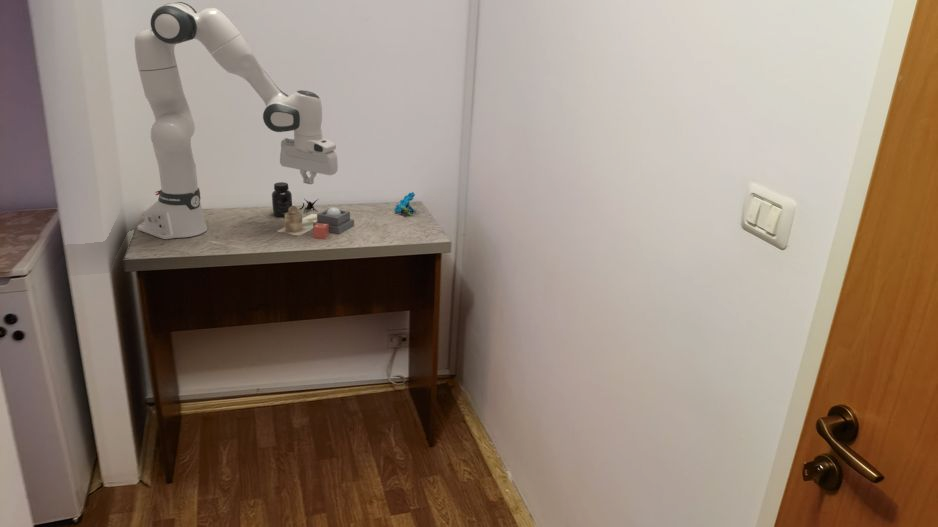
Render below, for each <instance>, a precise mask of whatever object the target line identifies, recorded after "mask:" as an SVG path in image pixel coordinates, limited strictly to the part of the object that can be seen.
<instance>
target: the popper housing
mask: <svg viewBox="0 0 938 527" xmlns="http://www.w3.org/2000/svg"><path fill="white" fill-rule="evenodd" d="M330 208H331V207H328V208H327V209H325V210H323V211H320V212H318V213H317V214H316V215H317V221H316V222H314V223H313V227H314V226H315V225H316V223H322V224H329V234H335V235H340V234H342V233H344V232H346V231H347V230H349V229H351V228H353V227H354V226H355V219H353V218H351V211H350V210H349V211H348V210H344V209H339V210H340V212H341V215H339V216H337V217H334V216H329V215H326V214H327V211H328V210H329V209H330Z"/></svg>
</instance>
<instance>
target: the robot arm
mask: <svg viewBox="0 0 938 527" xmlns="http://www.w3.org/2000/svg"><path fill="white" fill-rule="evenodd" d="M150 27H151V28H148V29H143V30H141V31H140V32H138V33H136V35H135V37H134V52H135V60H136V64H137V69H138V73H139V77H140V81H141V85H142V88H143V92H144V96H145V98H146V99H147V101H148V103H149V105H150V108H151V110H152V113H153V116H154V120H155V122H153V124H152V125H151V130H150V139H151V143H152V147H153V152H154V156H155V158H156V162H157V165H158V171H159V180H160V187H161V189H160V190H158V191H155V192H154V193H155V196H158V199H157V201H156V202H155V203H153V204H152V205H151V206H149V207H148V208H147V209H146V210H145V211H144V215H143V217H144V218H143V220H144V221H143V222H142V223H139V224H138V226H137V227H136V228H137V230H138V231H140V232H142V233H143V232H144V233H145V234H148V235H151V236H154V237H156V238H160V239H162V240H170V239H176V238H178V239H179V238H189V237H195V236H199V235H202V234H204V233H205V232H206V231H208V227H207V222H206V219H205V217H204V214H203V208H202V204H201V191H200V187H199V186H198V185H199V184H198V176H197V175H198V174H197V167H196V166H197V164H196V163H195V159H194V154H193V151H192V145H191V144H192V143H191V140H192V137H193V135H194V133H195V130H196V129H195V128H196V127H195V122H194V119H193V115H192V112H191V110H190V106H189V104H188V101H187V98H186V96H185V93H184V89H183V85H182V80H181V76H180V72H179V68H178V64H177V60H176V55H175V46H176V45H179V44H181V43H184V42H188V41H191V40H197V41H199V43H200V44H202V45H203V46H204V47H205V48H206V50H207V51H208V53H209V54H210V55H211V56H212V58H213V59H214V61H215V62H216V63H217V64H218V65H219V66H220V67H221V68H222V69H223V70H225V71H226V72H227V73H229V74H233V75H236V76H238V77H241V78H242V79H244V81H246V82H247V83H249V84H250V86H251V87H252V88H253V90H254V91H255V92H256V93H257V95H258V96H259V97H260V98H261V100H262V101H263V103H264V104H265V108H264V111H263V114H262V119H263V123H264V124H265V127H266V128H268V129H269V130H271V131H273V132H276V133H283V132H284V133H286V132H291V131H293V138H294V139H292V138H291V139H290V138H284V139H282V140H281V141H280V154H279V163H280V165H281V166H282V167H285V168H291V169H295V170H299V173H300V175H301V177H302V180H303V181H302V183H303V184H307V185H314V183H315V182H314V180H315V178H316V176H317V174H319V175H320V174H322V175H326V176H333V175H335V174H336V173H337V172H338V169H339V168H338V167H339V166H338V165H339V164H338V154H337V153H336V151H335V150H336V149H337V146H336V143H334V142H333V141H331V140H329V139H327V137H324V136H323V131H322V122H323V107H322V102H321V101H322V100H321V98H320V96H319V95H317V94H316V93H314V92H312V91H309V90H300V89H299V90H296V91H295V92H294V93H292V94H290V95H288V94H287V93H285V92H283V91H282V90H281V89H279V87H278V86H277V85H276V83H275V82H274V81H273V80H272V79H271V78H270V75H268V72H266V71H265V70H264V68H263V67H262V66H261V64H260V63H259V61H258V59H257V57H256V56H255V53H254V52H253V50H252V48H251V46H250V45H249V44H248V42H247V40H246V39H245V37H244V36H243V35H242V34H241V32H240V31H239V29H237V27H236V26H235V24H234V23H233V22H232V21H231V20H230V19H229V18H228V17H227V16H226V15H225V14H224V13H223V12H222V11H221V10H220V9H219V8H215V7H207V8H204V9H202V10H201V11H199V12H197V11H196V9H194V8H193V7H192V6H191V5H190V4H188V3H185V2H182V1H176V2H168V3H165V4H164V5H163V6H160V7H158V8H156V10H155V11H154V12H153V13H152V15H151V18H150ZM307 172H309V175H310V177H308V174H307Z"/></svg>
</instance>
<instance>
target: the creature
mask: <svg viewBox="0 0 938 527" xmlns="http://www.w3.org/2000/svg"><path fill="white" fill-rule="evenodd" d="M318 200H319V198H318V199H316V200H314V201H313V202H311V201H308V200H307V199H305V201H306V204H307V205H306V206H305V203H304V202H303V203H302V207H300V208H299V209H298V211H300V210H302V209H304V211H303V212H305V213H307V212H309V211H313V212H316V213H319V211H318V210H317V209H316V208H315V206H314V205H315V204H316V202H317V201H318Z"/></svg>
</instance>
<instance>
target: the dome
mask: <svg viewBox="0 0 938 527" xmlns="http://www.w3.org/2000/svg"><path fill="white" fill-rule="evenodd" d="M329 208H330V209H329ZM329 208H328V209H329V210H328V211H327V214H326V215H329V216H334V217H337V216H339V215H341V212H340V210H341V209H339V208H338V207H334V206H333V207H329Z"/></svg>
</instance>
